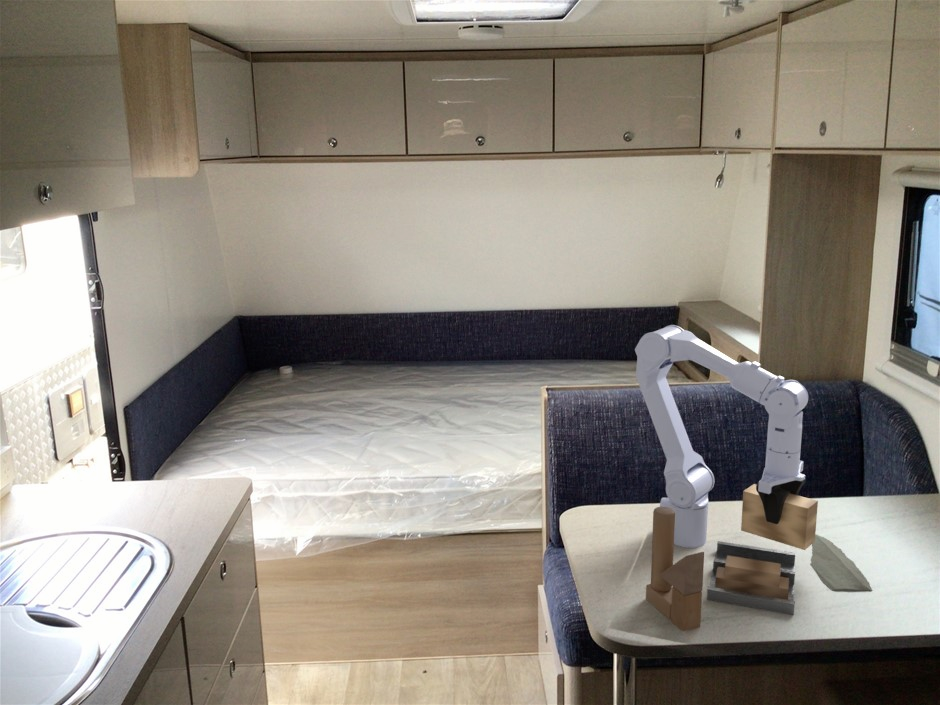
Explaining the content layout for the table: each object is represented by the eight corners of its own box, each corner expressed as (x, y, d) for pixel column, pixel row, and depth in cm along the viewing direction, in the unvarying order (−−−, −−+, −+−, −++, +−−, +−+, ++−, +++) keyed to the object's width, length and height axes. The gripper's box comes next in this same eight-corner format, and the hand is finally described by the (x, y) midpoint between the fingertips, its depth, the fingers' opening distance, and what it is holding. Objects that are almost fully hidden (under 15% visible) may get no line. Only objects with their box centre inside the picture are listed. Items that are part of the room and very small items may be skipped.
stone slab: (825, 604, 140) (882, 596, 139) (824, 590, 139) (882, 582, 139) (778, 546, 161) (827, 539, 161) (777, 533, 161) (826, 526, 160)
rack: (706, 603, 138) (707, 589, 137) (717, 554, 155) (717, 541, 154) (793, 619, 132) (794, 604, 132) (794, 566, 149) (795, 552, 149)
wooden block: (682, 635, 129) (687, 534, 124) (644, 603, 138) (648, 507, 134) (701, 630, 130) (706, 529, 126) (662, 598, 140) (666, 503, 135)
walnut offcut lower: (714, 589, 140) (715, 577, 140) (717, 579, 144) (717, 566, 143) (787, 602, 136) (788, 589, 135) (787, 590, 140) (788, 578, 139)
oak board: (741, 530, 150) (743, 490, 148) (751, 522, 153) (754, 483, 151) (804, 550, 141) (807, 508, 140) (814, 541, 144) (817, 500, 143)
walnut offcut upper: (724, 578, 139) (725, 565, 139) (726, 568, 143) (727, 555, 142) (779, 587, 136) (780, 574, 135) (779, 576, 140) (780, 563, 139)
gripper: (788, 464, 135) (783, 537, 138) (821, 442, 145) (816, 511, 148) (748, 455, 140) (744, 525, 143) (783, 434, 150) (779, 500, 153)
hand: (778, 517), depth 146 cm, fingers closed on oak board, 4 cm apart
